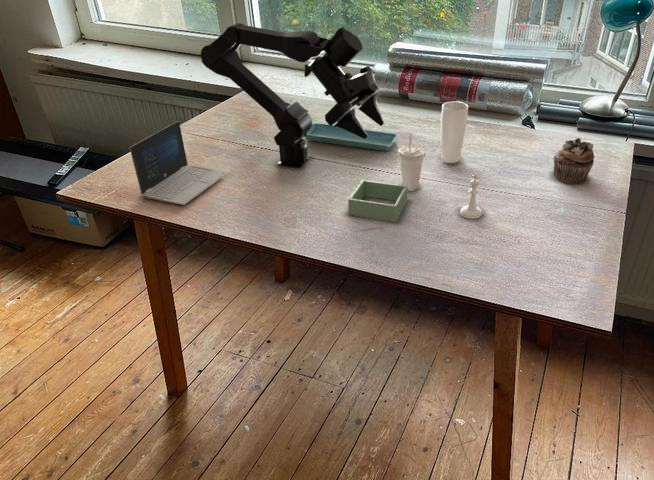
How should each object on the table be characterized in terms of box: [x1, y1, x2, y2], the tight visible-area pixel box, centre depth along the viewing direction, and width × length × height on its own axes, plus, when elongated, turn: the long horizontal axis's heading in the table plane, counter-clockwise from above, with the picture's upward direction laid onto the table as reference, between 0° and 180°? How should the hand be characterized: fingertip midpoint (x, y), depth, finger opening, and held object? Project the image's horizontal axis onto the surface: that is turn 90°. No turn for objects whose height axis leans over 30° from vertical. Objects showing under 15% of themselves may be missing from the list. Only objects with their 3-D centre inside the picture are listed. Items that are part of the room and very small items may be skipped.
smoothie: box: [398, 133, 426, 192], centre depth 137 cm, size 6×6×14 cm
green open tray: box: [347, 179, 408, 223], centre depth 132 cm, size 11×10×4 cm
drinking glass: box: [440, 100, 469, 164], centre depth 149 cm, size 7×7×15 cm
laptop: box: [129, 120, 228, 206], centre depth 138 cm, size 18×12×13 cm
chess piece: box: [459, 172, 483, 219], centre depth 128 cm, size 5×5×10 cm
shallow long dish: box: [303, 122, 399, 152], centre depth 164 cm, size 26×9×2 cm, turn 72°
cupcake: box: [553, 137, 595, 185], centre depth 142 cm, size 10×10×10 cm
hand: (374, 131), depth 138 cm, fingers open, 9 cm apart
